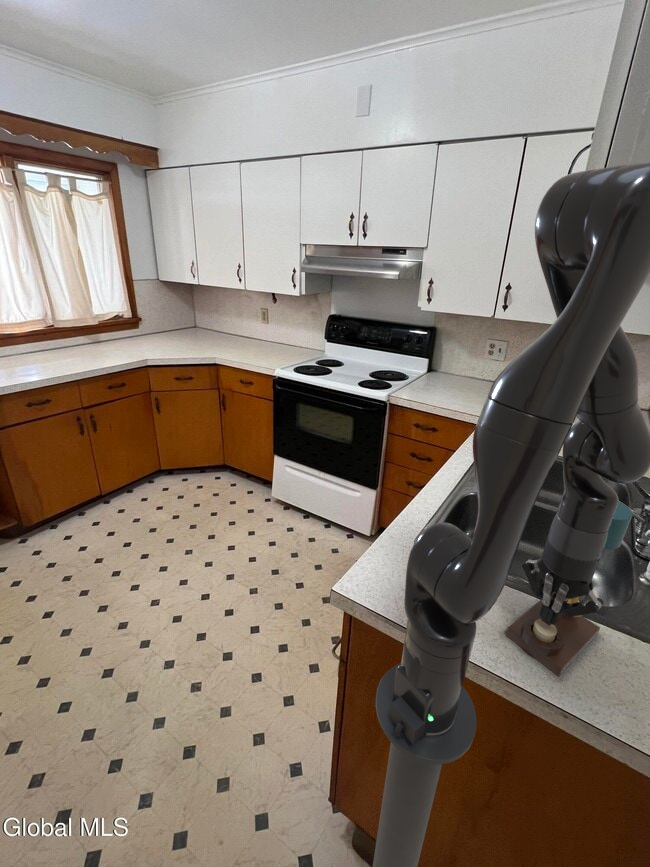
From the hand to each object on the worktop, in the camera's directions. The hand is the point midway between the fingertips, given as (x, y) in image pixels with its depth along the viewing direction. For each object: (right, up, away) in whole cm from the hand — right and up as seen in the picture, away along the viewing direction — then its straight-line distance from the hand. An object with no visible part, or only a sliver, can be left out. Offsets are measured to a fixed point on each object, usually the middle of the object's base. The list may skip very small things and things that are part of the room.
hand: (548, 621), depth 74 cm
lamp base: (+3, -5, +5) cm, 8 cm away
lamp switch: (0, -3, +1) cm, 3 cm away
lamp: (+8, 0, +6) cm, 10 cm away
